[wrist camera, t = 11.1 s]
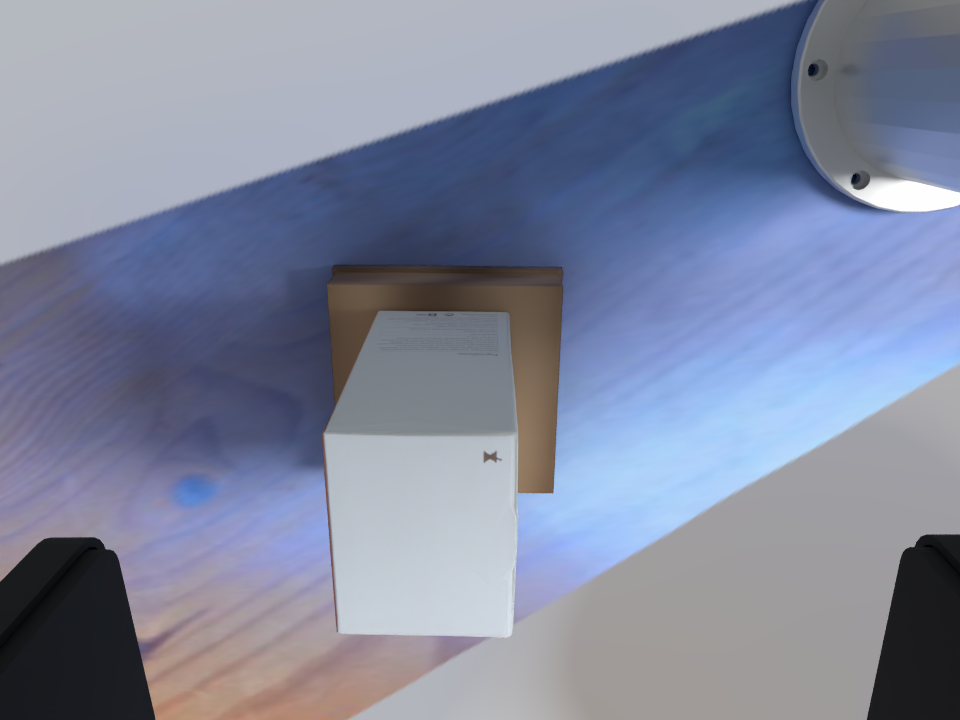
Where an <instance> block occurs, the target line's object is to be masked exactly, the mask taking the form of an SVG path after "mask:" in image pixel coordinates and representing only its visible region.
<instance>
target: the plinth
mask: <svg viewBox="0 0 960 720" xmlns="http://www.w3.org/2000/svg"><path fill="white" fill-rule="evenodd" d="M332 272H333V277H332V278H331V280H330V281H329V282H328V284H327V293H328V308H329V323H330V339H331V354H332V369H333V384H334V399H335V406H336V404H337V402H338V399H339V397H340V395H341V393H342V390H343V388H344V386H345V384H346V382H347V379H348V377H349V375H350V373H351V370H352V368H353V366H354V363H355V361H356V359H357V357H358V355H359V353H360V350H361V348H362V346H363V344H364V342H365V339H366V337H367V335H368V332H369V330H370V328H371V326H372V323H373V321H374V319H375V317H376V315H377V313H378V311H460V312H468V311H472V312H508V313H509V320H510V343H511V356H512V366H513V376H514V387H515V399H516V413H517V425H518V493H553V489H554V468H555V447H556V426H557V405H558V384H559V363H560V341H561V320H562V299H563V285H562V276H563V269H562V267H487V266H378V265H334V266H333V268H332Z"/></svg>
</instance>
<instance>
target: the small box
mask: <svg viewBox="0 0 960 720" xmlns="http://www.w3.org/2000/svg"><path fill="white" fill-rule="evenodd" d="M322 445H323V459H324V473H325V487H326V499H327V512H328V525H329V539H330V553H331V566H332V577H333V589H334V602H335V615H336V627H337V632H338V633H340V634H374V635H429V636H473V637H501V638H508V637H509V636H510V635H511V634H512V629H513V616H514V595H515V575H516V555H517V540H518V498H517V495H518V425H517V413H516V399H515V387H514V376H513V366H512V356H511V343H510V320H509V313H508V312H472V311H468V312H460V311H378V313H377V315H376V317H375V319H374V321H373V323H372V326H371V328H370V330H369V332H368V335H367V337H366V339H365V342H364V344H363V346H362V348H361V350H360V353H359V355H358V357H357V359H356V361H355V363H354V366H353V368H352V370H351V373H350V375H349V377H348V379H347V382H346V384H345V386H344V388H343V390H342V393H341V395H340V397H339V399H338V402H337V404H336V406H335V408H334V411H333V413H332V415H331V417H330V419H329V421H328V423H327V425H326V427H325V430H324V432H323V433H322Z"/></svg>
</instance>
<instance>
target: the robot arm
mask: <svg viewBox="0 0 960 720" xmlns="http://www.w3.org/2000/svg"><path fill="white" fill-rule="evenodd" d="M811 64H813V65H814V67H815V71H814V74H813V75H811V76H809V75H808V68H809V66H810V65H811ZM791 107H792V112H793V118H794V123H795V128H796V132H797V134H798V137H799V139H800V142H801V144H802V147H803V149H804V152H805V154H806V155H807V157H808V158H809V160H810V161H811V163H812V164H813V166H814V167H815V168H816V170H817V171H818V173H819V174H820V175H821V176H822V177H823V178H824V179H826V180H827V181H828V182H829V183H830V184H831V185H832V186H833V187H834V188H835V189H836V190H838V191H840V192H842V193H843V194H845V195H847V196H848V197H850V198H852V199H854V200H855V201H858V202H861V203H864V204H866V205H869V206H871V207H874V208H878V209H883V210H887V211H892V212H897V213H929V212H934V211H940V210H946V209H951V208H954V207H957V206H959V205H960V0H818V2H817V4H816V5H815V7H814V9H813V11H812V13H811V14H810V16H809V18H808V20H807V22H806V25H805V27H804V30H803V33H802V35H801V38H800V41H799V44H798V46H797V49H796V55H795V60H794V65H793V71H792V76H791ZM854 174H856V177H857V178H856V180H855V181H854V182H853V183H851V179H852V176H853V175H854ZM0 720H155V715H154V711H153V706H152V702H151V698H150V693H149V689H148V685H147V680H146V676H145V672H144V667H143V663H142V659H141V654H140V650H139V646H138V641H137V637H136V633H135V628H134V624H133V620H132V615H131V611H130V607H129V602H128V598H127V594H126V589H125V585H124V581H123V576H122V572H121V568H120V564H119V560H118V557H117V555H116V553H115V552H114V551H112V550H106V549H105V547H104V544H103V543H102V542H101V541H100V540H99V539H97V538H94V537H78V538H47V539H44V540H42V541H41V542H40V543H38V544H37V545H36V546H35V547H34V548H33V549H32V550H31V551H30V552H29V553H28V554H27V555H26V556H25V557H24V558H23V559H22V560H21V561H20V562H19V563H18V564H17V565H16V566H15V568H14V569H13V570H12V571H11V572H10V573H9V574H8V575H7V576H6V577H5V578H4V579H3V580H2V581H1V582H0ZM867 720H960V535H924V536H922V537H920V539H919V540H918V541H917V542H916V545H915V547H910V548H907V549H905V551H904V552H903V554H902V556H901V560H900V564H899V569H898V574H897V578H896V583H895V588H894V593H893V597H892V602H891V607H890V612H889V617H888V621H887V626H886V631H885V636H884V640H883V645H882V650H881V655H880V660H879V664H878V669H877V674H876V679H875V683H874V688H873V693H872V698H871V703H870V707H869V712H868V717H867Z"/></svg>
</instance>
